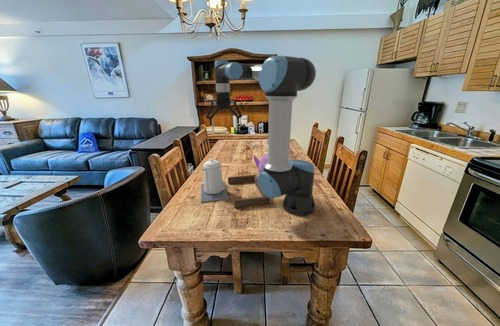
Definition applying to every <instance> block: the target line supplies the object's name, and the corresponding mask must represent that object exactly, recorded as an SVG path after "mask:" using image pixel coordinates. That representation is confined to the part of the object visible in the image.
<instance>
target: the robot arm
mask: <svg viewBox="0 0 500 326" xmlns="http://www.w3.org/2000/svg"><path fill="white" fill-rule="evenodd" d="M213 69H214V77H215V78H214V79H215V91H216V95H215V96H216V101H214V100H211V102H210V107H209V109H208V112H207V114H206V116H205V118H206V119H208V120H209V126H211V129H212V132H214V131H215V129H214V119H213V118H214V116H215V115H216V114H217V113H218V112H219V110H229V111H231V113H232V114H233V116H235V118H234V119H235V121H234V122H235V123H234V125H235V130H236V131H238V125H240V119H241V118H243V115H242V113H241V111H240V109H239V107H238V104H237V101H236V100H231V92H230V91H231V89H230V88H231V87H230V86H231V85H230V80H249V81H250V80H251V81H258V82H259V83H258V84H259V86H260V89H261V90H262V91H263V92H264V95H265V98H266V100H268V133H267V134H268V135H267V139H268V140H267V141H268V142H267V154H268V161H267V162H266V163H265V164H264V172H261V173H259V174H258V176H257V178H258V184H259V187H260V189H261V191H262V192H263V194H264V195H265V196H267V197H268V198H270V199H276V198H280V197H282V196H284V197H283V200H282V208H283V210H284V212H287V213H289V214H291V215H294V216H308V215H312V214H313V213H314V212H315V210H316V202H315V199H314V195H313V191H314V180H315V179H314V178H315V165H314V164H313V163H312V162H310V161H308V160H303V159H296V158H295V159H290V145H291V133H292V132H291V130H292V129H291V128H292V114H293V101H294V100H295V99H296V98H298V92H301V91H305V90H306V89H309V88H310V87H311V86H312V85H313V83H314V82H315V79H316V73H317V70H316V68H315V65H314V64H313V62H312V61H310V59H308V58H305V57H294V56H286V55H273V56H269V57H268V58H266V60H264V62H263V63H262V64H259V63H239V62H236V61H234V62H233V61H231V62H229V60H225V59H223V60H222V59H220V60H215V61H214V68H213ZM215 105H216V106H217V107H216V108H215V110H214V111H213V112H212V110H213V108H214V106H215ZM231 105H233V106H234V109H235V110H236V112H235V111H234V109H233V108H232V107H231ZM211 112H212V114H211ZM237 113H238V114H237Z"/></svg>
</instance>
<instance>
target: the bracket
mask: <svg viewBox="0 0 500 326" xmlns="http://www.w3.org/2000/svg"><path fill="white" fill-rule="evenodd" d="M252 182H253V183H254V184H255V186H256V188H257V189H258V191H259V192H260V195H261V196H256V197H247V198H239V199H234V200H233V205H234V209H241V208H242V209H243V208H249V207H250V208H251V207H258V206H268V205H270V199H271V198H268V197H267V196H265V195H264V194H263V192H262V191H261V189H260V187H259V184H258V176H257V174H249V175H247V174H246V175H237V176H228V177H227V184H228V185H232V184H233V185H234V184H241V183H242V184H243V183H252Z"/></svg>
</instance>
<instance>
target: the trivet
mask: <svg viewBox="0 0 500 326" xmlns="http://www.w3.org/2000/svg"><path fill="white" fill-rule="evenodd" d="M223 186H224V189H223V191H222V192H220V193H218V194H207V193H206V192H205V191H204V183H201V185H200V203H201V204H202V203H204V204H205V203H211V202H221V201H229V196H228V195H229V193H228V191H227V187H226V182H224V181H223Z"/></svg>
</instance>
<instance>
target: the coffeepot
mask: <svg viewBox="0 0 500 326" xmlns="http://www.w3.org/2000/svg"><path fill="white" fill-rule="evenodd" d="M201 172H203V184H204V191H205V192H206V193H207V194H218V193H220V192H222V191H223V189H224V186H223V182H224V181H223V173H222V163H221V161H220V160H216V159H214V158H212V157H211V158H209V160H206V161H205V162H204V164H203V168H202V169H201Z"/></svg>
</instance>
